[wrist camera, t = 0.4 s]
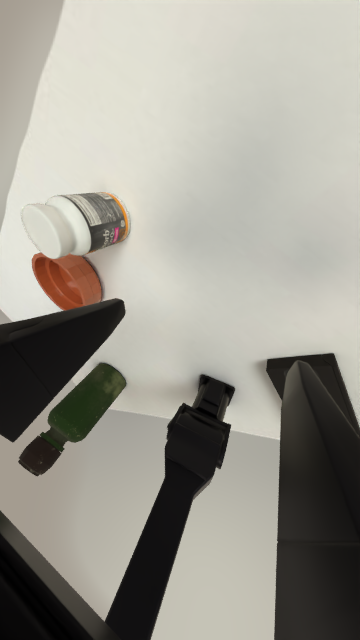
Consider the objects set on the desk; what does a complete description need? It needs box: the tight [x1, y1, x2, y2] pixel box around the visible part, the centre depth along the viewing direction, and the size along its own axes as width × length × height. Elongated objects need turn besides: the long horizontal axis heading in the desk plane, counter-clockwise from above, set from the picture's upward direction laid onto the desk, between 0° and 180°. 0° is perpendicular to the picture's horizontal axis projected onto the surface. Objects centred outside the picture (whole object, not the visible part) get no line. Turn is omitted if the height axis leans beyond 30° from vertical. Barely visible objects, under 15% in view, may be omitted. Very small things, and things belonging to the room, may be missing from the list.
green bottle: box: [18, 363, 126, 476], centre depth 46 cm, size 10×10×25 cm
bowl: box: [32, 253, 102, 311], centre depth 33 cm, size 12×12×4 cm
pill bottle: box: [21, 192, 130, 259], centre depth 20 cm, size 6×6×10 cm
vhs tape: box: [266, 354, 360, 438], centre depth 25 cm, size 8×14×2 cm, turn 36°
